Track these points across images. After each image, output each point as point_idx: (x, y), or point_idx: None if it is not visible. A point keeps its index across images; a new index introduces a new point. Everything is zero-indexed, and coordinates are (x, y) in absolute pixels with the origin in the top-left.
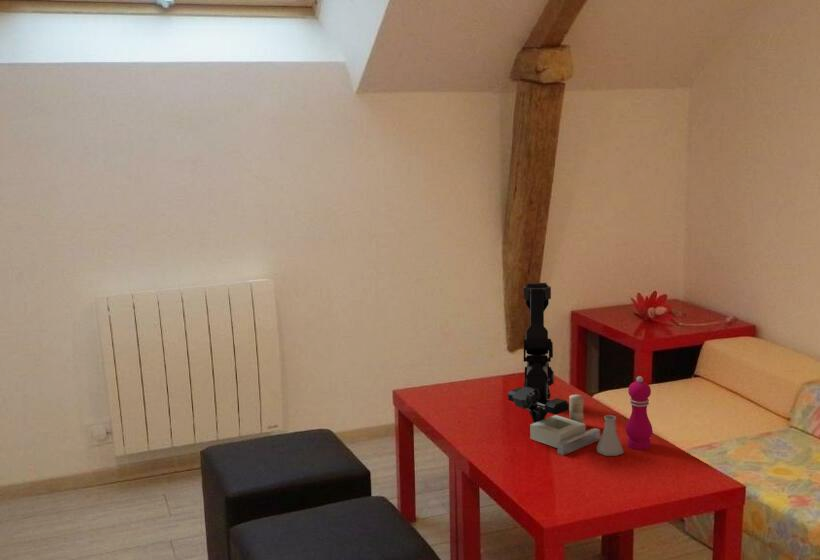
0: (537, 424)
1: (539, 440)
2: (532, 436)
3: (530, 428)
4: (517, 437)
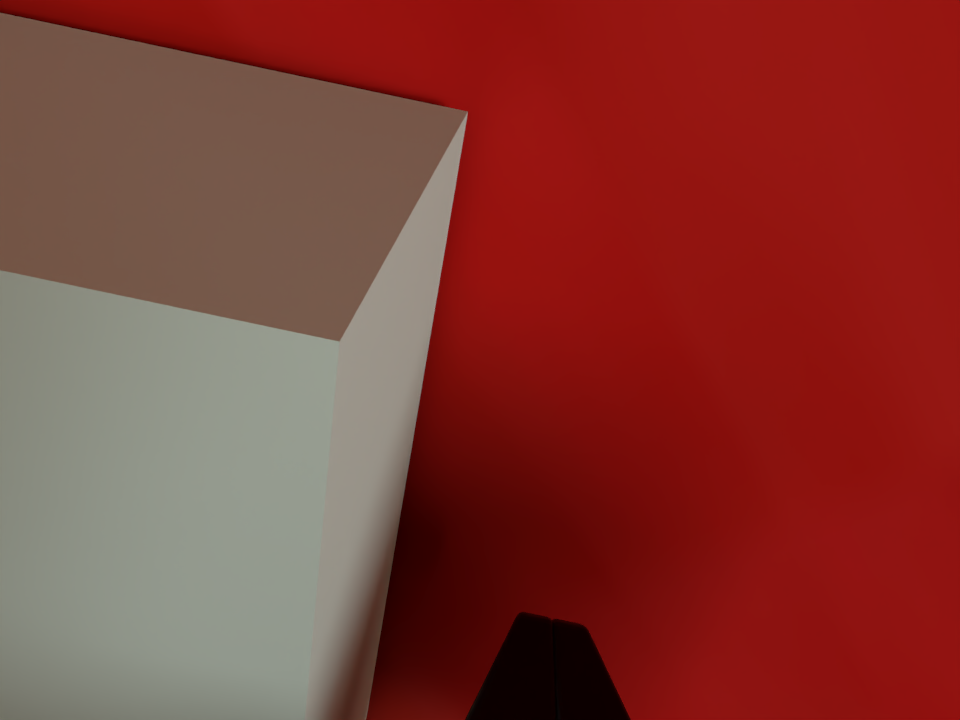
0: (23, 528)
1: (67, 41)
2: (348, 109)
3: (384, 236)
4: (934, 35)
